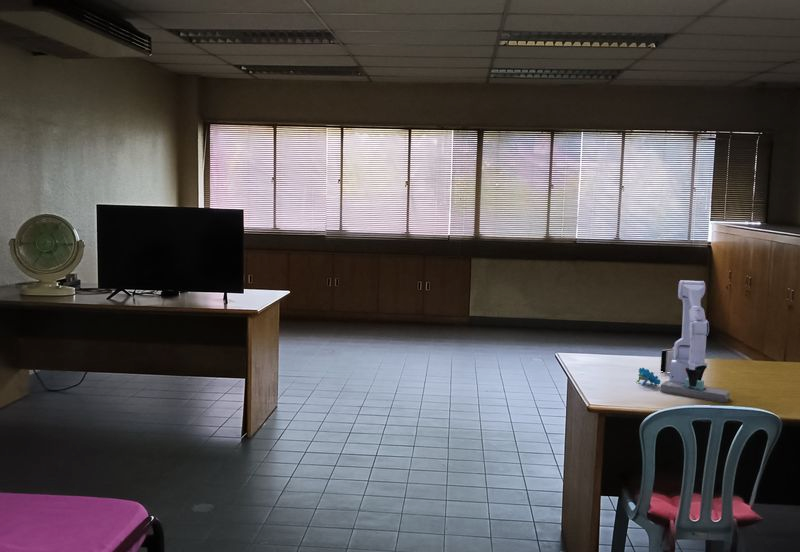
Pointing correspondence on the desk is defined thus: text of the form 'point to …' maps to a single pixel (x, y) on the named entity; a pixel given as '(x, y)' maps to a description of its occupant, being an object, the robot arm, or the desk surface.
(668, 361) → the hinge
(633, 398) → the desk surface
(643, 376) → the blue lumpy piece
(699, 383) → the upright aqua box
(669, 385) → the grey board with slots
